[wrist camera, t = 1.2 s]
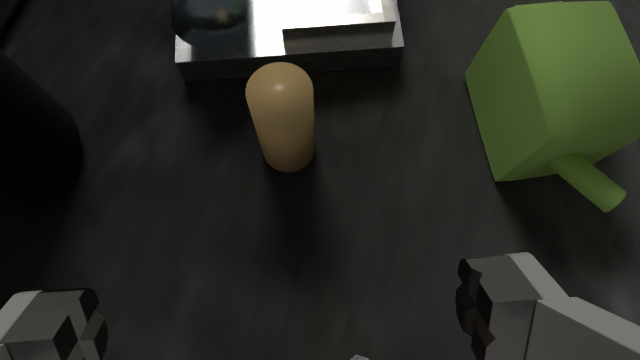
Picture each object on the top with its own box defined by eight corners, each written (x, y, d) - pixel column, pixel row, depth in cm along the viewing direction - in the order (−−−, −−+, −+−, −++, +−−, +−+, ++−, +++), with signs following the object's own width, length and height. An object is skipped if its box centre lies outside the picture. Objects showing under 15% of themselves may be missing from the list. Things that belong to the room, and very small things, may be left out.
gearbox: (620, 219, 38) (720, 183, 29) (508, 235, 37) (575, 203, 28) (554, 39, 43) (620, -38, 34) (455, 49, 43) (497, -27, 34)
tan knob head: (313, 122, 40) (310, 59, 31) (317, 170, 39) (315, 118, 30) (261, 126, 40) (244, 64, 31) (263, 174, 39) (246, 123, 30)
